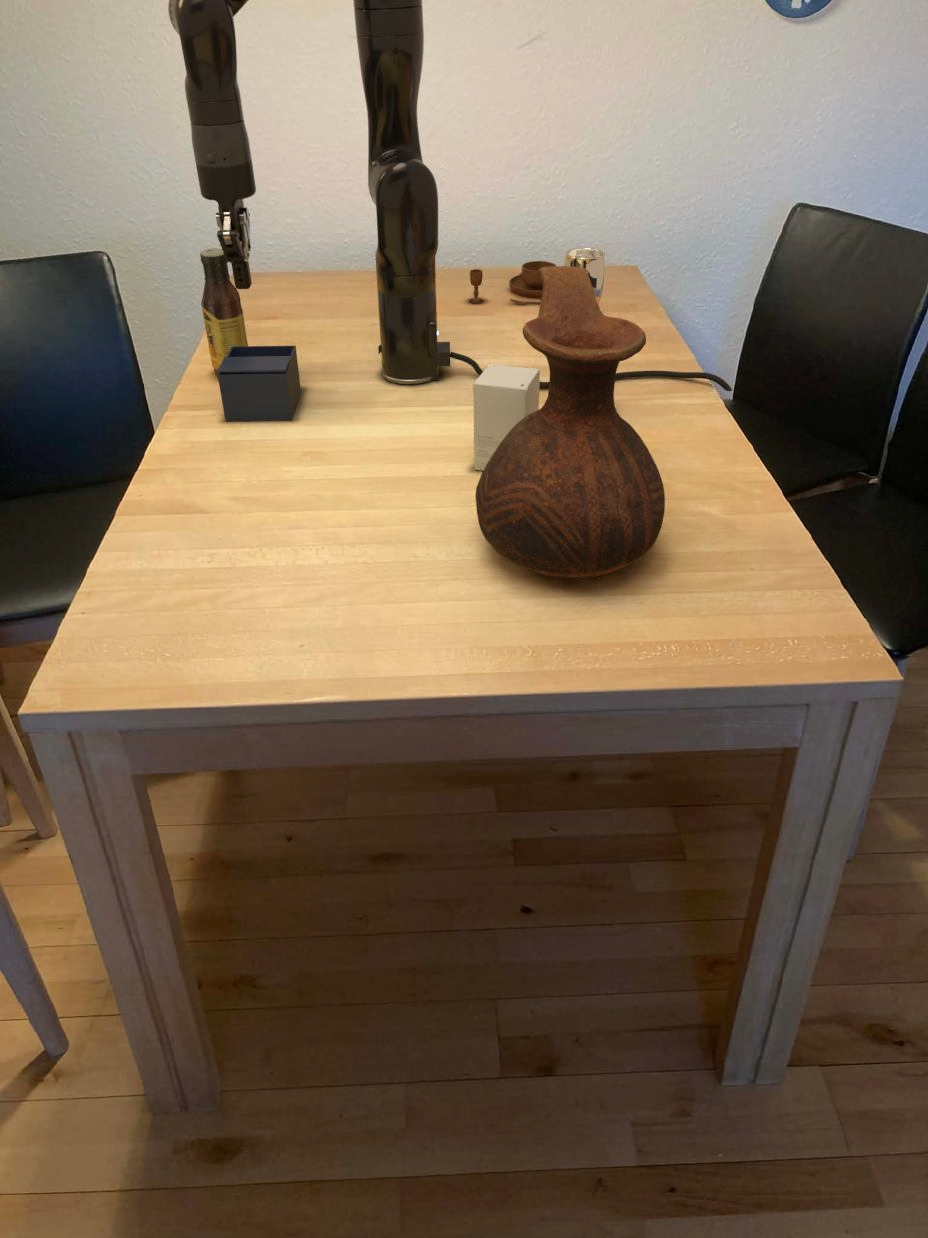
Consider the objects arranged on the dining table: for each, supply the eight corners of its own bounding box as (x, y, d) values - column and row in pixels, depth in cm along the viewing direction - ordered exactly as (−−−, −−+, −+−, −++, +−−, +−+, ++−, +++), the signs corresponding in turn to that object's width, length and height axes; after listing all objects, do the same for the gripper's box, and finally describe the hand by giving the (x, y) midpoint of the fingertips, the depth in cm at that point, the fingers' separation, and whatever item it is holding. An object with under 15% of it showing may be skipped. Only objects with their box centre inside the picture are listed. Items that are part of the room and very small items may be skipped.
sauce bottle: (216, 367, 158) (195, 245, 146) (253, 365, 158) (236, 244, 146) (211, 382, 153) (189, 257, 141) (249, 381, 153) (231, 255, 141)
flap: (290, 357, 141) (290, 355, 141) (285, 371, 136) (285, 369, 136) (224, 358, 141) (224, 356, 141) (217, 372, 136) (217, 370, 136)
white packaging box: (538, 454, 131) (542, 368, 124) (524, 478, 126) (527, 389, 118) (488, 447, 133) (489, 361, 126) (472, 470, 128) (471, 382, 120)
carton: (300, 389, 150) (295, 345, 146) (291, 420, 141) (286, 374, 137) (238, 390, 150) (231, 346, 146) (225, 421, 141) (217, 375, 136)
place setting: (571, 304, 183) (572, 273, 179) (468, 304, 183) (468, 274, 179) (564, 277, 197) (566, 248, 193) (469, 277, 197) (469, 248, 193)
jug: (687, 535, 114) (727, 286, 96) (611, 626, 99) (641, 352, 81) (531, 489, 123) (541, 255, 105) (441, 566, 109) (434, 309, 91)
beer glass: (597, 347, 164) (604, 259, 155) (557, 344, 165) (562, 257, 156) (600, 333, 170) (607, 248, 161) (562, 331, 171) (567, 246, 162)
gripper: (243, 167, 121) (263, 301, 132) (258, 147, 132) (275, 272, 142) (185, 169, 121) (210, 303, 132) (204, 149, 132) (226, 274, 142)
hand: (244, 287), depth 137 cm, fingers closed
